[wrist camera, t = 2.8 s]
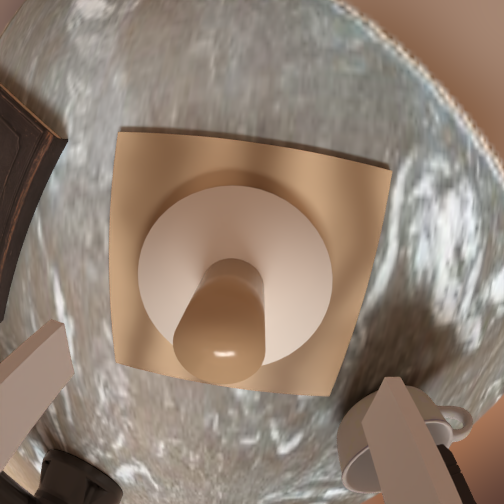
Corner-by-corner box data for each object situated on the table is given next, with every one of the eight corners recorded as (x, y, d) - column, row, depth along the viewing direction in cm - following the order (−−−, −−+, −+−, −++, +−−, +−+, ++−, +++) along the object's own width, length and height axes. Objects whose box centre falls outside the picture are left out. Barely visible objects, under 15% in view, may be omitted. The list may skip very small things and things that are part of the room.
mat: (117, 360, 24) (115, 362, 24) (120, 132, 19) (118, 132, 19) (328, 393, 25) (329, 396, 24) (390, 170, 19) (392, 171, 19)
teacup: (322, 444, 27) (331, 501, 19) (338, 374, 24) (360, 440, 16) (428, 426, 27) (451, 471, 19) (459, 357, 24) (497, 402, 16)
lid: (144, 344, 23) (104, 411, 15) (148, 175, 19) (82, 182, 11) (306, 369, 23) (321, 446, 15) (347, 202, 20) (400, 225, 11)
